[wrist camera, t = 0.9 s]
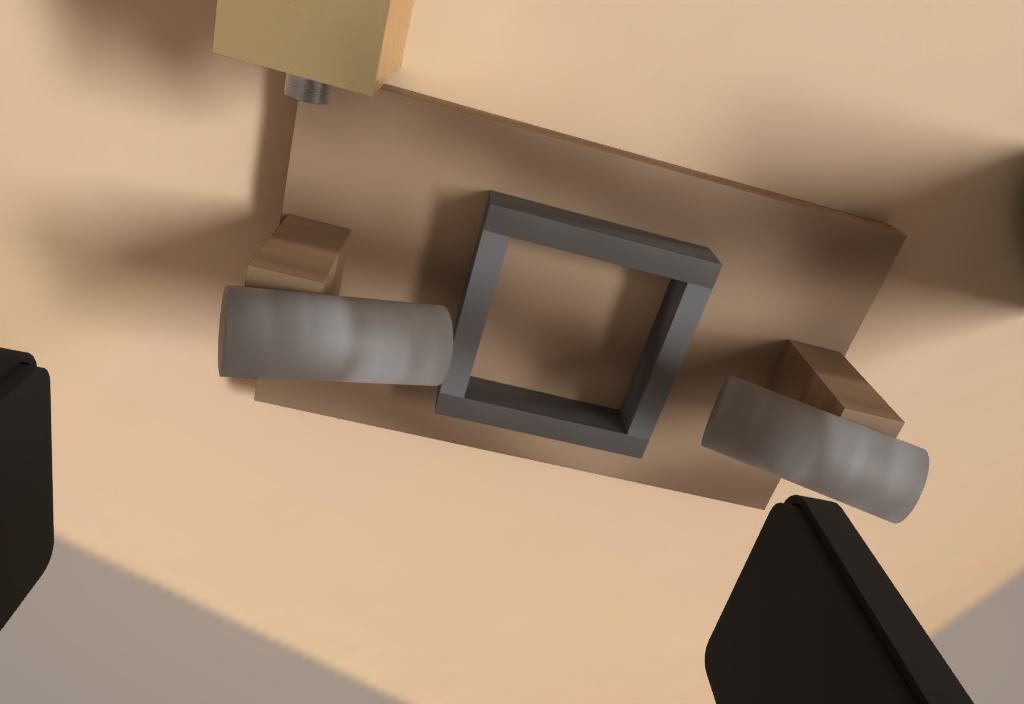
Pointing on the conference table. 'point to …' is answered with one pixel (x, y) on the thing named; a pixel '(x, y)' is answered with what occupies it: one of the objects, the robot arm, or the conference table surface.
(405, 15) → the block
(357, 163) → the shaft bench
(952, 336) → the conference table surface
